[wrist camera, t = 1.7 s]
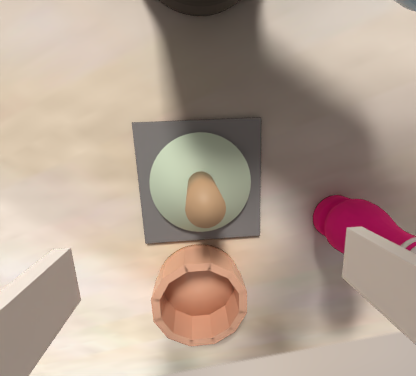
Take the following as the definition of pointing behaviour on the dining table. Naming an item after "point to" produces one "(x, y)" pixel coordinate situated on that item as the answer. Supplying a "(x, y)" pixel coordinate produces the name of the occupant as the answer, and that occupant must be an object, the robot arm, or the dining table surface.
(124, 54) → the dining table surface
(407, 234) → the pepper mill
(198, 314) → the bowl
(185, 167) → the plunger
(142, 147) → the mat
